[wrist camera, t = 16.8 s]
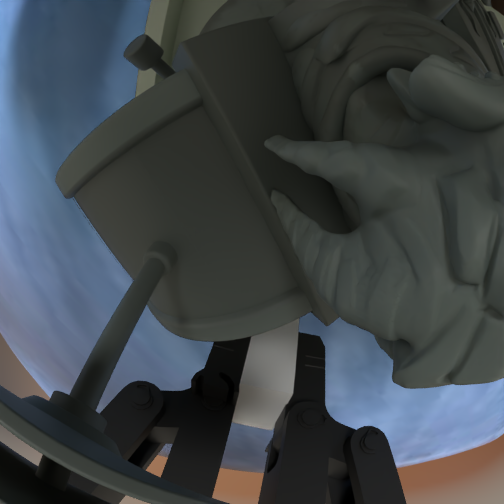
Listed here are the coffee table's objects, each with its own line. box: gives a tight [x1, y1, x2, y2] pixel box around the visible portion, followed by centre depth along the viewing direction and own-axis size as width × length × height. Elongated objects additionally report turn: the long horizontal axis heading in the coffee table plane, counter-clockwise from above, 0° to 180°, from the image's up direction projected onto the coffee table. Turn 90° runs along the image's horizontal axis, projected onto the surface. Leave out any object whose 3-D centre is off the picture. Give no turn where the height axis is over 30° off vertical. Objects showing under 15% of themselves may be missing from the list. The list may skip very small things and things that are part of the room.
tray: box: [135, 0, 504, 97], centre depth 9 cm, size 14×14×2 cm
